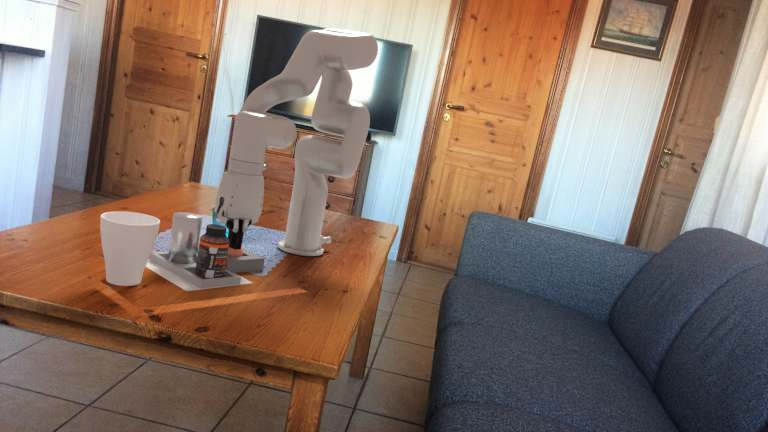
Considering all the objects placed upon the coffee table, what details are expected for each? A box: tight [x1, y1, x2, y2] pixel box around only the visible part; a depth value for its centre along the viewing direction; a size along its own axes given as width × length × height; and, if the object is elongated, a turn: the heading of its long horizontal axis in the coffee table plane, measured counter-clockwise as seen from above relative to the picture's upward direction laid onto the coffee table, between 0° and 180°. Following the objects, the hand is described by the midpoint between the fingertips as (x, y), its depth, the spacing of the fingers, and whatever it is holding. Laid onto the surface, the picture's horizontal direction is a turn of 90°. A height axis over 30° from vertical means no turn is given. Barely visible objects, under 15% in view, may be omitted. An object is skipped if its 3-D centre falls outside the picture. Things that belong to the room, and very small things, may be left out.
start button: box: [227, 246, 244, 257], centre depth 140 cm, size 4×4×3 cm
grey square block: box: [225, 247, 266, 274], centre depth 141 cm, size 10×10×4 cm
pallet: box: [145, 251, 254, 292], centre depth 131 cm, size 16×20×3 cm
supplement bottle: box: [195, 223, 229, 279], centre depth 127 cm, size 6×6×11 cm
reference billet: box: [168, 211, 204, 264], centre depth 133 cm, size 6×6×11 cm
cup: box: [99, 210, 161, 290], centre depth 117 cm, size 10×10×14 cm
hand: (233, 247), depth 140 cm, fingers closed
